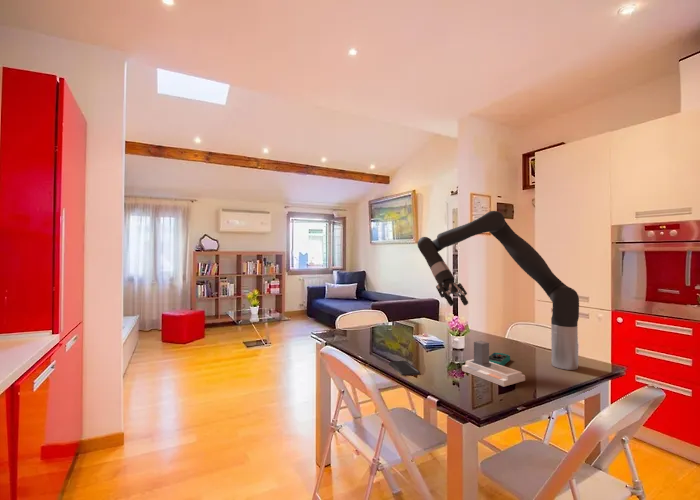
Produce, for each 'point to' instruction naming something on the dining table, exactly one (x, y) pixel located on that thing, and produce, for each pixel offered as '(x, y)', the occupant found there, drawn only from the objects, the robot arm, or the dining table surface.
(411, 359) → the dining table surface
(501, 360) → the digital multimeter
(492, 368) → the switch housing
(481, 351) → the slider tab
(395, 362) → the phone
